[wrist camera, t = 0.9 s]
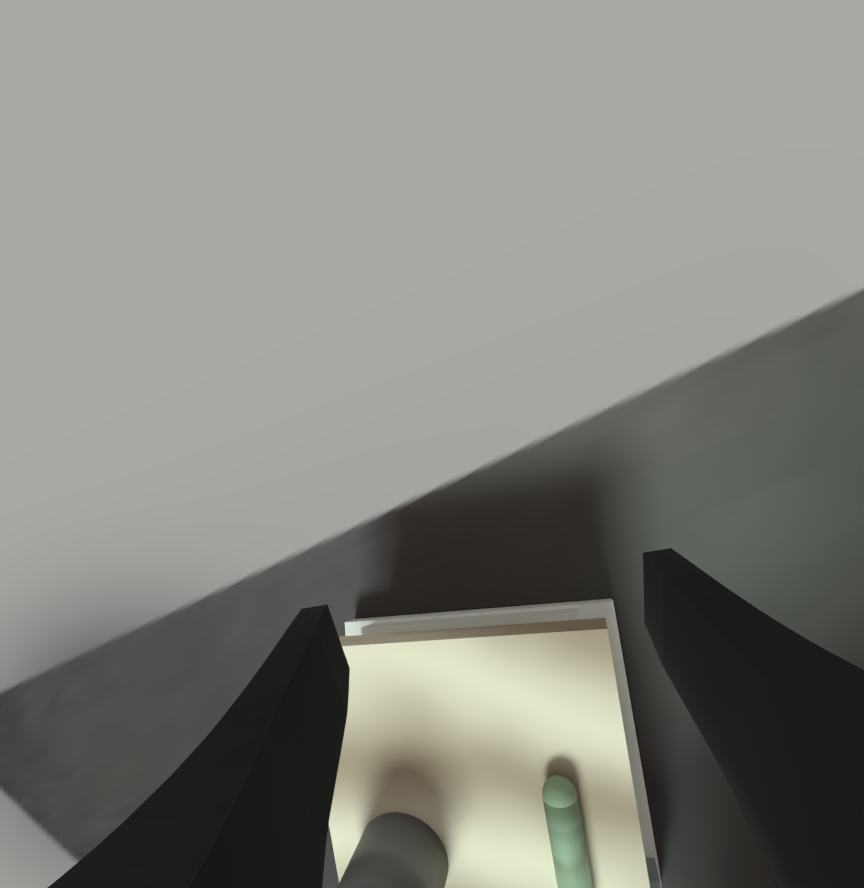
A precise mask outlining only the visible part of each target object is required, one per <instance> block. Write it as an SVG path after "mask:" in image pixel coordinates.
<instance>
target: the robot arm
mask: <svg viewBox="0 0 864 888" xmlns="http://www.w3.org/2000/svg"><path fill="white" fill-rule="evenodd" d="M643 569H644V616H645V625H646V627H647V629H648V632H649V634H650V637H651V639H652V642H653V644H654V646H655V649H656V651H657V653H658V656H659V658H660V660H661V662H662V665H663V667H664V668H665V670H666V672H667V674H668V676H669V678H670V679H671V681H672V683H673V685H674V686H675V688H676V690H677V692H678V693H679V695H680V697H681V699H682V701H683V702H684V704H685V706H686V707H687V709H688V711H689V713H690V714H691V716H692V718H693V720H694V721H695V723H696V725H697V727H698V728H699V730H700V732H701V734H702V735H703V737H704V739H705V741H706V742H707V744H708V746H709V748H710V749H711V751H712V753H713V755H714V756H715V758H716V760H717V762H718V763H719V765H720V767H721V769H722V771H723V773H724V775H725V776H726V778H727V780H728V782H729V784H730V786H731V788H732V790H733V792H734V794H735V796H736V798H737V801H738V803H739V805H740V807H741V809H742V811H743V814H744V816H745V818H746V820H747V822H748V824H749V827H750V829H751V831H752V833H753V835H754V837H755V840H756V842H757V844H758V846H759V848H760V851H761V853H762V855H763V857H764V860H765V862H766V864H767V866H768V869H769V871H770V873H771V875H772V878H773V880H774V882H775V884H776V887H777V888H864V670H862V669H860V668H859V667H857V666H855V665H853V664H851V663H849V662H847V661H845V660H843V659H841V658H840V657H838V656H836V655H834V654H832V653H830V652H828V651H826V650H825V649H823V648H821V647H819V646H818V645H816V644H814V643H812V642H810V641H809V640H807V639H805V638H804V637H802V636H800V635H799V634H797V633H795V632H794V631H792V630H790V629H789V628H787V627H785V626H784V625H782V624H780V623H779V622H777V621H776V620H774V619H772V618H771V617H769V616H768V615H766V614H765V613H763V612H761V611H760V610H758V609H757V608H755V607H754V606H752V605H751V604H749V603H748V602H746V601H745V600H743V599H742V598H740V597H739V596H737V595H736V594H735V593H733V592H732V591H730V590H729V589H727V588H726V587H724V586H723V585H722V584H720V583H719V582H717V581H716V580H715V579H713V578H712V577H710V576H709V575H708V574H706V573H705V572H703V571H702V570H701V569H699V568H698V567H696V566H695V565H694V564H692V563H691V562H689V561H688V560H687V559H685V558H684V557H683V556H681V555H680V554H678V553H677V552H676V551H674V550H673V549H671V548H670V549H664V550H658V551H652V552H646V553H643ZM349 675H350V668H349V665H348V662H347V659H346V656H345V653H344V651H343V648H342V645H341V642H340V639H339V636H338V634H337V631H336V628H335V625H334V622H333V619H332V617H331V614H330V611H329V608H328V605H322V606H316V607H310V608H304V609H301V611H300V612H299V613H298V615H297V616H296V617H295V619H294V620H293V622H292V623H291V625H290V626H289V627H288V629H287V630H286V632H285V633H284V635H283V636H282V637H281V639H280V640H279V642H278V643H277V645H276V646H275V648H274V649H273V650H272V652H271V653H270V655H269V656H268V658H267V659H266V660H265V662H264V663H263V665H262V666H261V667H260V669H259V670H258V671H257V673H256V674H255V676H254V677H253V678H252V680H251V681H250V682H249V684H248V685H247V687H246V688H245V689H244V691H243V692H242V693H241V695H240V696H239V697H238V698H237V700H236V701H235V702H234V703H233V705H232V706H231V707H230V708H229V710H228V711H227V712H226V713H225V715H224V716H223V717H222V719H221V720H220V721H219V722H218V724H217V725H216V726H215V727H214V728H213V730H212V731H211V732H210V733H209V734H208V736H207V737H206V738H205V739H204V740H203V741H202V742H201V744H200V745H199V746H198V747H197V748H196V749H195V750H194V751H193V752H192V754H191V755H190V756H189V757H188V758H187V759H186V760H185V761H184V762H183V763H182V764H181V766H180V767H179V768H178V769H177V770H176V771H175V772H174V773H173V774H172V775H171V776H170V777H169V778H168V779H167V780H166V781H165V782H164V783H163V784H162V785H161V786H160V787H159V788H158V789H157V790H156V791H155V792H154V793H153V794H152V795H151V796H150V797H149V798H148V799H147V800H146V801H145V802H144V803H143V804H142V805H141V806H140V807H139V808H138V809H137V810H136V811H135V812H134V813H132V814H131V815H130V816H129V817H128V818H127V819H126V820H125V821H124V822H123V823H122V824H121V825H120V826H119V827H118V828H117V829H115V830H114V831H113V832H112V833H111V834H110V835H109V836H108V837H107V838H105V839H104V840H103V841H102V842H101V843H100V844H99V845H98V846H97V847H95V848H94V849H93V850H92V851H91V852H90V853H88V854H87V855H86V856H85V857H84V858H83V859H81V860H80V861H79V862H78V863H77V864H76V865H75V866H73V867H72V868H71V869H70V870H69V871H68V872H66V873H65V874H64V875H63V876H61V878H59V879H58V880H57V881H55V882H54V883H53V884H52V885H51V886H49V887H48V888H322V881H323V870H324V858H325V846H326V839H327V831H328V824H329V818H330V812H331V806H332V800H333V795H334V789H335V783H336V778H337V772H338V766H339V761H340V755H341V749H342V743H343V737H344V731H345V725H346V719H347V712H348V697H349Z"/></svg>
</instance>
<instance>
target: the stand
mask: <svg viewBox="0 0 864 888" xmlns="http://www.w3.org/2000/svg"><path fill="white" fill-rule="evenodd" d="M594 618H605V619H606V624H607V629H608V635H609V641H610V647H611V653H612V659H613V665H614V671H615V678H616V684H617V690H618V696H619V702H620V708H621V714H622V720H623V726H624V732H625V738H626V744H627V750H628V756H629V763H630V769H631V775H632V781H633V787H634V793H635V799H636V805H637V811H638V817H639V823H640V829H641V835H642V841H643V847H644V854H645V860H646V866H647V872H648V878H649V884H650V888H662V882H661V876H660V870H659V864H658V859H657V853H656V847H655V841H654V835H653V830H652V824H651V818H650V812H649V806H648V800H647V795H646V789H645V783H644V777H643V771H642V766H641V760H640V754H639V748H638V742H637V736H636V731H635V725H634V719H633V713H632V707H631V702H630V696H629V690H628V684H627V678H626V672H625V667H624V661H623V655H622V649H621V643H620V637H619V632H618V626H617V620H616V614H615V608H614V603H613V600H612V599H600V600H588V601H575V602H563V603H550V604H537V605H525V606H512V607H500V608H487V609H475V610H462V611H450V612H437V613H424V614H412V615H399V616H387V617H374V618H362V619H353V620H350V621H347V622H345V634H346V636H355V635H369V634H383V633H397V632H411V631H425V630H439V629H453V628H467V627H482V626H496V625H510V624H524V623H538V622H552V621H566V620H580V619H594Z"/></svg>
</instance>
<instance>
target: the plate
mask: <svg viewBox="0 0 864 888" xmlns="http://www.w3.org/2000/svg"><path fill="white" fill-rule="evenodd" d="M339 639H340V642H341V645H342V648H343V651H344V653H345V656H346V659H347V662H348V665H349V668H350V675H349V697H348V712H347V719H346V725H345V731H344V737H343V743H342V749H341V755H340V761H339V766H338V772H337V778H336V783H335V789H334V795H333V800H332V806H331V812H330V818H329V828H330V833H331V839H332V844H333V850H334V856H335V861H336V867H337V873H338V878H339V885H338V887H337V888H650V884H649V878H648V872H647V866H646V860H645V854H644V847H643V841H642V835H641V829H640V823H639V817H638V811H637V805H636V799H635V793H634V787H633V781H632V775H631V769H630V763H629V756H628V750H627V744H626V738H625V732H624V726H623V720H622V714H621V708H620V702H619V696H618V690H617V684H616V678H615V671H614V665H613V659H612V653H611V647H610V641H609V635H608V629H607V624H606V619H605V618H594V619H580V620H566V621H552V622H538V623H524V624H510V625H496V626H482V627H467V628H453V629H439V630H425V631H411V632H397V633H383V634H369V635H355V636H341V637H339Z"/></svg>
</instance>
